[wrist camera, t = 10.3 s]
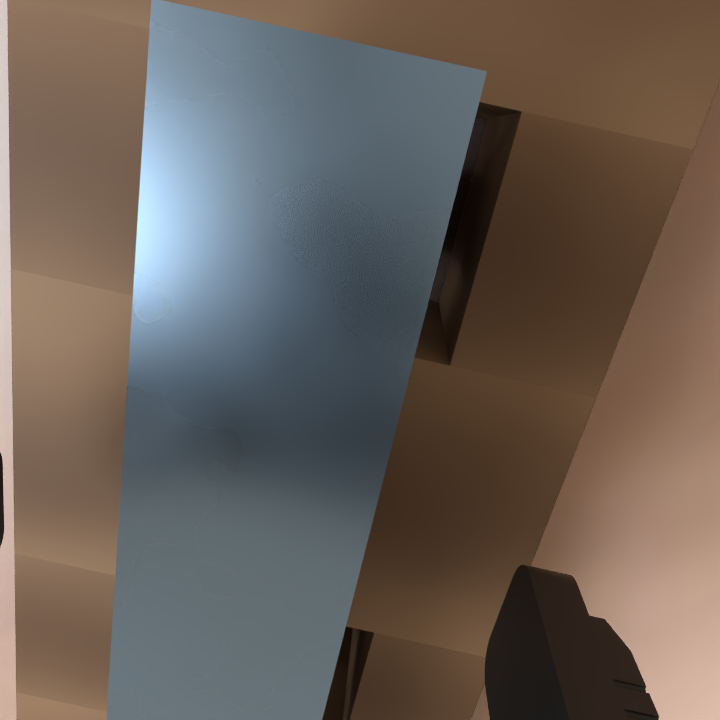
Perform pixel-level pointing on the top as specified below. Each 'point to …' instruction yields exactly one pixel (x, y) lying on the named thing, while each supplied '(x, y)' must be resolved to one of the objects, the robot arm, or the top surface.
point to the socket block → (437, 338)
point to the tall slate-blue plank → (268, 350)
